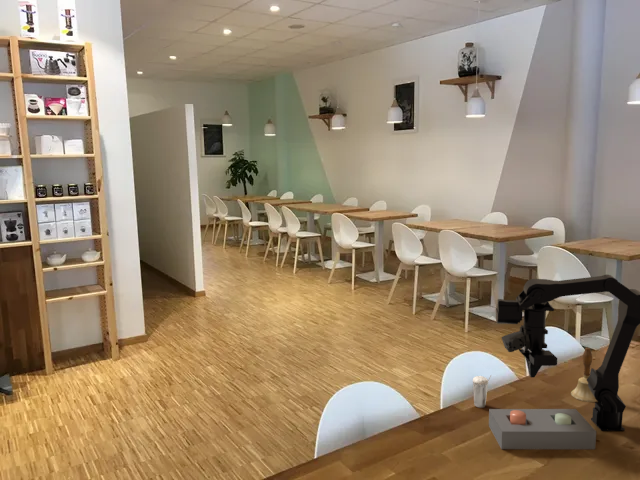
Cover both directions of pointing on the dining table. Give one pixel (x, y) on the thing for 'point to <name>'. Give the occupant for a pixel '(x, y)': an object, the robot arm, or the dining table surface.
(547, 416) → the console
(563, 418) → the sage plug
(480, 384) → the milkshake
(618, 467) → the dining table surface
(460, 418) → the dining table surface
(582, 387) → the hand bell
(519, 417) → the terracotta plug
